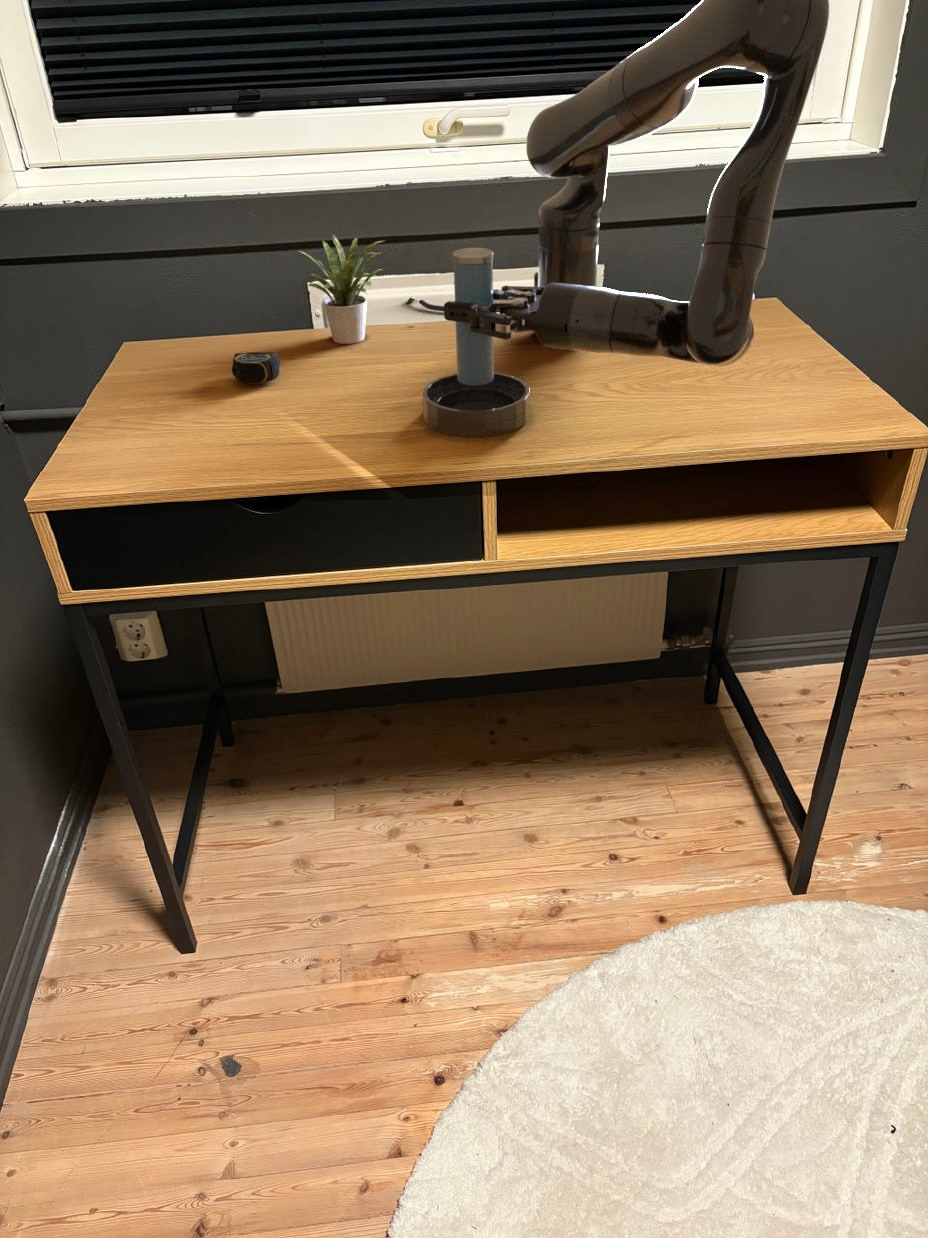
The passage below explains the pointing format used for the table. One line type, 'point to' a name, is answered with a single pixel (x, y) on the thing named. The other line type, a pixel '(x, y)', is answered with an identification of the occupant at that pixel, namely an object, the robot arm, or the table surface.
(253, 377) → the tape measure
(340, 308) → the house plant
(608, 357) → the table surface
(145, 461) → the table surface
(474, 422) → the bowl
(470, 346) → the canister
